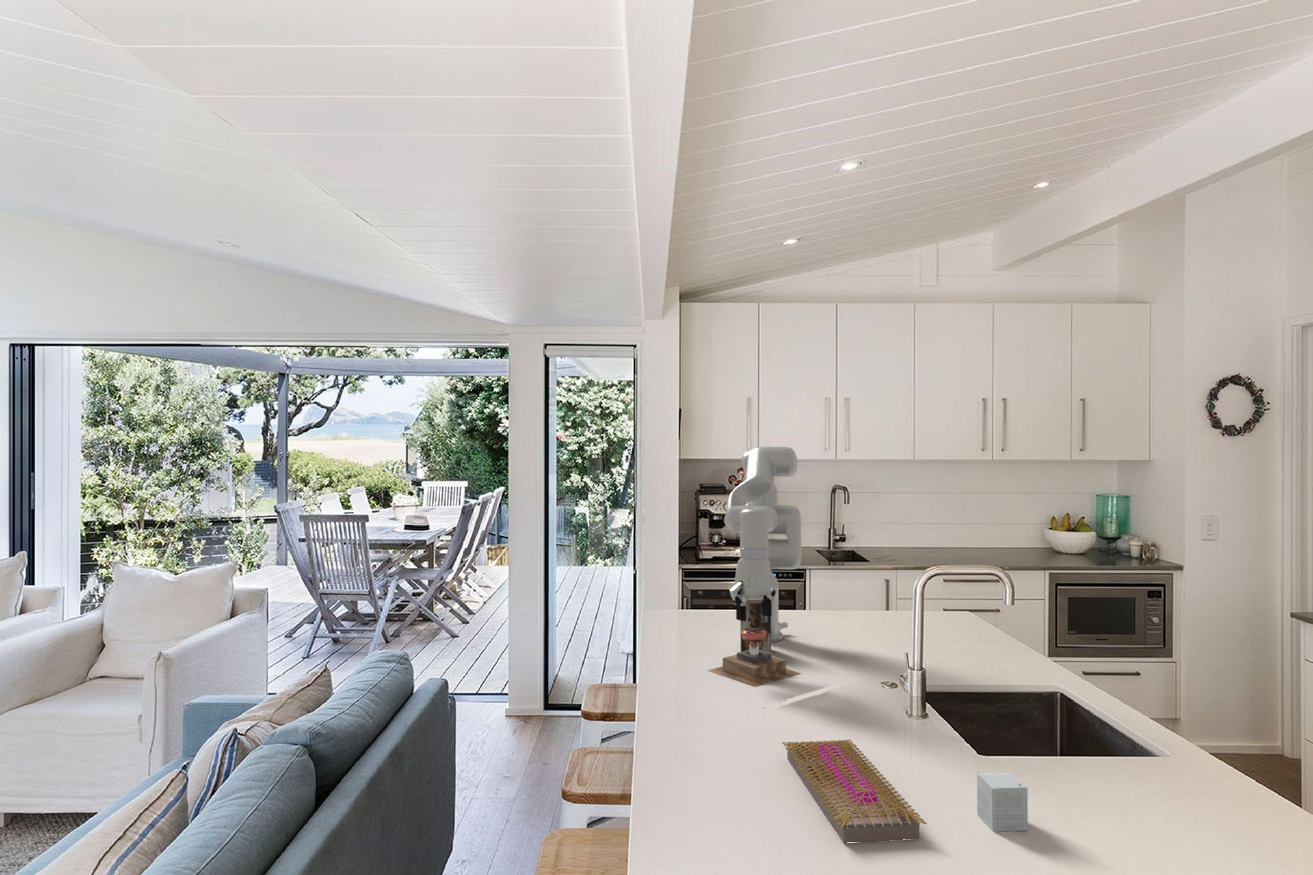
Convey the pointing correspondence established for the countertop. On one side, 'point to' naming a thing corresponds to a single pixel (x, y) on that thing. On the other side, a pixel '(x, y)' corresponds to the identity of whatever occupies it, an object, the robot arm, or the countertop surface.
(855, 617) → the countertop surface
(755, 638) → the copper dome knob
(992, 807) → the product box
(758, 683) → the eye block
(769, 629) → the coffee box
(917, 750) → the countertop surface
